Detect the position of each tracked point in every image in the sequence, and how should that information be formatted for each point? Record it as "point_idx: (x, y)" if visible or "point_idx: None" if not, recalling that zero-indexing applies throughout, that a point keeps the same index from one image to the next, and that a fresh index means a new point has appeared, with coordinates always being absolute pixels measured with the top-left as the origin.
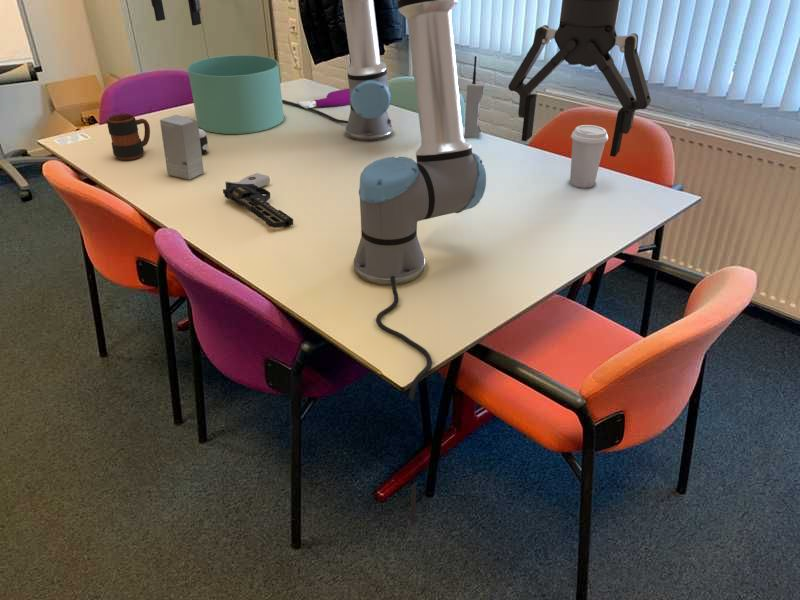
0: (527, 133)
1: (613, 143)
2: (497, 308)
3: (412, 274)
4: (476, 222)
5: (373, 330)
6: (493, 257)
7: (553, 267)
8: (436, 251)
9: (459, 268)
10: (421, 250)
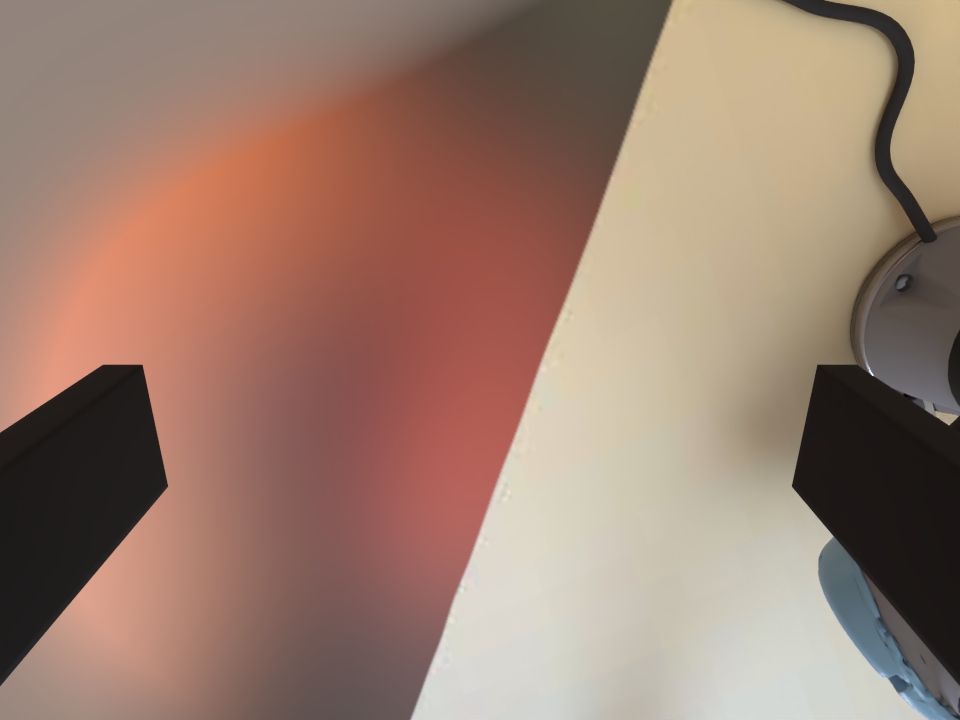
0: (847, 403)
1: (72, 410)
2: (618, 273)
3: (880, 284)
4: (785, 607)
5: (900, 7)
6: (697, 480)
7: (548, 501)
8: None
9: (764, 396)
10: (895, 372)
